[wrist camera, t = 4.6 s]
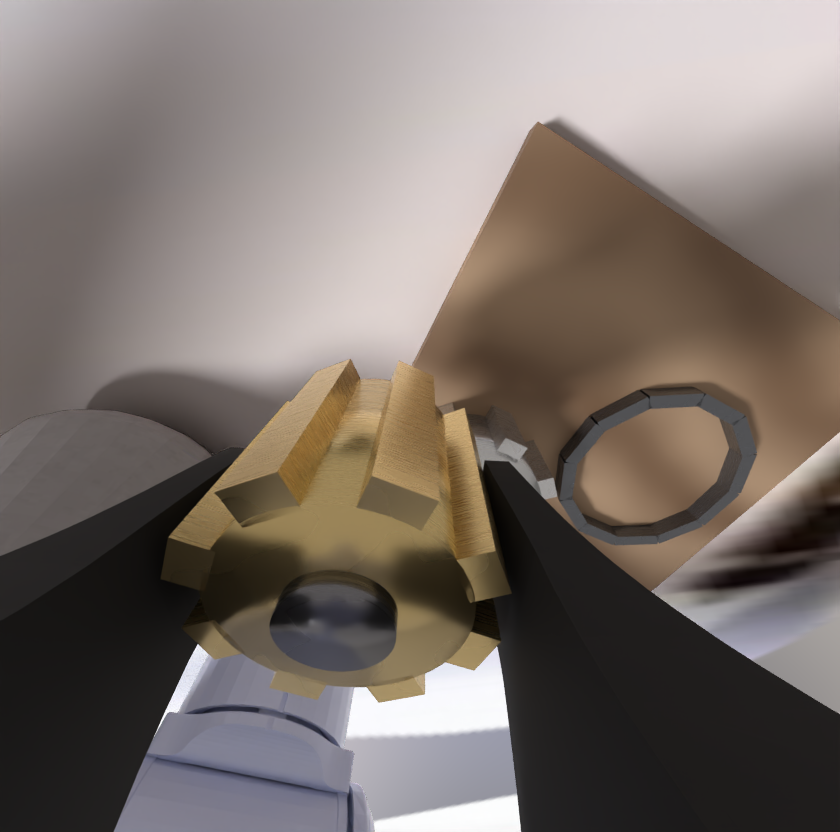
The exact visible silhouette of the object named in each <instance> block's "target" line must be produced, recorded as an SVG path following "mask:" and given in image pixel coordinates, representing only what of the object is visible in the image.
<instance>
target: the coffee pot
mask: <svg viewBox="0 0 840 832" xmlns="http://www.w3.org/2000/svg"><path fill="white" fill-rule="evenodd" d="M211 456H212V455H211V454H210V453H209V452H208V451H207V450H206V449H205V448H204V447H202V446H201V445H200V444H198V443H197V442H195V441H194V440H193V439H191V438H190V437H188V436H186V435H184V434H182V433H180V432H178V431H176V430H174V429H172V428H169V427H166V426H164V425H162V424H160V423H158V422H155V421H153V420H150V419H147V418H143V417H139V416H135V415H131V414H128V413H124V412H120V411H110V410H88V409H85V410H64V411H59V412H55V413H50V414H46V415H41V416H37V417H32V418H28V419H27V420H25V421H23V422H22V423H20V424H19V425H17V426H16V427H14V428H12V429H11V430H9V431H8V432H6V433H5V434H3V435H2V436H1V437H0V556H1V555H4V554H6V553H9V552H11V551H14V550H16V549H19V548H21V547H23V546H26V545H28V544H31V543H33V542H35V541H38V540H40V539H43V538H45V537H48V536H50V535H52V534H54V533H57V532H59V531H61V530H63V529H66V528H68V527H70V526H72V525H75V524H77V523H79V522H81V521H83V520H86V519H88V518H90V517H92V516H94V515H96V514H98V513H100V512H102V511H104V510H106V509H108V508H110V507H112V506H115V505H117V504H119V503H121V502H123V501H125V500H127V499H129V498H131V497H133V496H135V495H137V494H139V493H141V492H143V491H145V490H147V489H149V488H151V487H153V486H155V485H157V484H159V483H161V482H163V481H164V480H166V479H168V478H170V477H172V476H174V475H176V474H178V473H180V472H182V471H184V470H186V469H188V468H190V467H191V466H193V465H195V464H197V463H199V462H201V461H203V460H205V459H207V458H209V457H211Z"/></svg>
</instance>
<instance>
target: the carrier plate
mask: <svg viewBox="0 0 840 832" xmlns="http://www.w3.org/2000/svg"><path fill="white" fill-rule="evenodd" d="M412 367H414V368H417V369H419V370H421V371H423V372H426V373H428V374H430V375H433V376H434V389H435V405H436V406H437V407H439V406H442V405H445V404H449V403H452V402H453V405H454V408H455V411H457V410H460V409H463V408H465V411H466V414H477V415H482V416H486V415H487V413H488V411H489V410H490V408H491V407H492V405H494V406H496V407H498V408H500V409H502V410H504V411H506V412H509V413H511V414H512V416H513V418H514V420H515V422H516V425H517V427H518V429H519V431H520V433H521V435H522V437H523V439H524V441H525V442H528V441H531V440H534V442H535V444H536V446H537V447H538V449H539V451H540V453H541V455H542V457H543V459H544V461H545V463H546V465H547V466H548V468H549V470H550V472H551V474H552V476H553V478H554V483H555V481H556V473H557V465H558V457H559V454H561V453H560V451H561V450H562V448H563V447H564V446H565V445H566V443H567V442H568V441H569V440H570V438H571V437H572V436H573V435H574V433H575V432H576V431H577V430H578V428H579V427H580V426H581V424H582V423H583V422H584V421H585V419H586V418H587V417H588V416H590V417H591V415H590V414H592V413H594V412H596V411H598V410H600V409H601V408H603V407H605V406H607V405H609V404H611V403H613V402H615V401H617V400H619V399H621V398H623V397H625V396H627V395H629V394H631V393H633V392H635V391H636V390H639V391H640V389H652V388H671V387H690V386H692V387H695V388H697V389H699V390H701V391H702V392H704V393H706V394H708V395H710V396H711V397H713V398H715V399H717V400H719V401H721V402H722V403H724V404H726V405H728V406H730V407H731V408H733V409H735V410H737V411H739V412H740V413H742V414H744V415H745V416H746V417H747V420H748V424H749V427H750V430H751V434H752V437H753V440H754V444H755V447H756V450H757V453H756V454H757V456H756V458H755V461H754V463H753V465H752V468H751V470H750V473H749V475H748V477H747V480H746V482H745V485H744V487H743V489H742V492H741V493H738V494H739V496H738V497H737V498H735V499H734V500H733V501H732V502H731V503H730V504H729V505H727V506H726V507H725V508H724V509H723V510H722V511H721V512H719V513H718V514H717V515H716V516H715V517H714V518H713V519H711V520H710V521H709V522H708V523H707V524H706V525H703V524H702V526H703V527H700V528H698V529H695V530H693V531H690V532H688V533H685V534H683V535H680V536H678V537H675V538H672V539H670V540H667V541H665V542H662V543H660V544H659V543H657V544H645V545H614V544H613V545H611V544H609V543H606V542H604V541H602V540H599V539H597V538H594V537H592V536H590V535H587V534H585V533H583V532H580V531H578V530H577V528H576V527H575V525H574V524H573V522H572V520H571V519H570V517H569V516H568V514H567V512H566V511H565V509H564V508H563V506H562V504H561V503H560V501H559V499H558V497H553V498H549V499H545V500H546V501H547V502H548V503H549V504H550V505H551V506H552V507H553V508H554V509H555V510H556V511H557V512H558V513H559V514H560V515H561V516H562V517H563V518H564V519H565V520H566V521H567V522H568V523H569V524H570V525H572V526H573V527H574V528H575V529H576V530H577V531H578V532H579V533H580V534H581V535H582V536H584V537H585V538H586V539H587V540H588V541H589V542H590V543H591V544H593V545H594V546H595V547H596V548H597V549H598V550H599V551H600V552H602V553H603V554H604V555H605V556H606V557H608V558H609V559H610V560H611V561H612V562H614V563H615V564H616V565H617V566H619V567H620V568H621V569H622V570H624V571H625V572H626V573H628V574H629V575H630V576H631V577H633V578H634V579H635V580H637V581H638V582H639V583H640V584H642V585H643V586H644V587H645V588H647V589H648V590H649V591H652V590H653V589H654V588H656V587H657V586H658V585H659V584H660V583H662V582H663V581H664V580H665V579H666V578H667V577H669V576H670V575H671V574H672V573H673V572H675V571H676V570H677V569H678V568H679V567H680V566H682V565H683V564H684V563H685V562H686V561H688V560H689V559H690V558H691V557H692V556H693V555H695V554H696V553H697V552H698V551H699V550H701V549H702V548H703V547H704V546H705V545H707V544H708V543H709V542H710V541H711V540H712V539H714V538H715V537H716V536H717V535H718V534H720V533H721V532H722V531H723V530H724V529H725V528H727V527H728V526H729V525H730V524H731V523H733V522H734V521H735V520H736V519H737V518H738V517H740V516H741V515H742V514H743V513H744V512H746V511H747V510H748V509H749V508H750V507H751V506H753V505H754V504H755V503H756V502H757V501H759V500H760V499H761V498H762V497H763V496H764V495H766V494H767V493H768V492H769V491H770V490H772V489H773V488H774V487H775V486H776V485H778V484H779V483H780V482H781V481H782V480H783V479H785V478H786V477H787V476H788V475H789V474H791V473H792V472H793V471H794V470H795V469H796V468H798V467H799V466H800V465H801V464H802V463H804V462H805V461H806V460H807V459H808V458H809V457H811V456H812V455H813V454H814V453H815V452H817V451H818V450H819V449H820V448H821V447H822V446H824V445H825V444H826V443H827V442H828V441H830V440H831V439H832V438H833V437H834V436H835V435H837V434H838V433H839V432H840V320H838V319H837V318H835V317H834V316H832V315H831V314H829V313H828V312H826V311H825V310H823V309H822V308H820V307H819V306H817V305H816V304H814V303H813V302H811V301H810V300H808V299H807V298H805V297H804V296H802V295H800V294H799V293H797V292H796V291H794V290H793V289H791V288H790V287H788V286H787V285H785V284H784V283H782V282H781V281H779V280H778V279H776V278H775V277H773V276H772V275H770V274H769V273H767V272H766V271H764V270H763V269H761V268H759V267H758V266H756V265H755V264H753V263H752V262H750V261H749V260H747V259H746V258H744V257H743V256H741V255H740V254H738V253H737V252H735V251H734V250H732V249H731V248H729V247H728V246H726V245H725V244H723V243H722V242H720V241H719V240H717V239H715V238H714V237H712V236H711V235H709V234H708V233H706V232H705V231H703V230H702V229H700V228H699V227H697V226H696V225H694V224H693V223H691V222H690V221H688V220H687V219H685V218H684V217H682V216H681V215H679V214H678V213H676V212H675V211H673V210H671V209H670V208H668V207H667V206H665V205H664V204H662V203H661V202H659V201H658V200H656V199H655V198H653V197H652V196H650V195H649V194H647V193H646V192H644V191H643V190H641V189H640V188H638V187H637V186H635V185H634V184H632V183H631V182H629V181H627V180H626V179H624V178H623V177H621V176H620V175H618V174H617V173H615V172H614V171H612V170H611V169H609V168H608V167H606V166H605V165H603V164H602V163H600V162H599V161H597V160H596V159H594V158H593V157H591V156H590V155H588V154H586V153H585V152H583V151H582V150H580V149H579V148H577V147H576V146H574V145H573V144H571V143H570V142H568V141H567V140H565V139H564V138H562V137H561V136H559V135H558V134H556V133H555V132H553V131H552V130H550V129H549V128H547V127H546V126H544V125H542V124H541V123H539V122H537V123H536V124H535V125H534V127H533V128H532V129H531V130H530V132H529V134H528V135H527V137H526V139H525V141H524V143H523V145H522V147H521V149H520V151H519V153H518V155H517V157H516V159H515V161H514V163H513V165H512V167H511V169H510V171H509V173H508V175H507V177H506V179H505V181H504V183H503V185H502V187H501V189H500V191H499V193H498V195H497V197H496V199H495V201H494V203H493V205H492V207H491V209H490V211H489V213H488V215H487V217H486V219H485V221H484V223H483V225H482V227H481V229H480V231H479V233H478V235H477V237H476V239H475V241H474V243H473V245H472V247H471V249H470V251H469V253H468V255H467V257H466V259H465V261H464V263H463V265H462V267H461V269H460V271H459V273H458V275H457V277H456V279H455V281H454V283H453V285H452V287H451V289H450V291H449V293H448V295H447V297H446V299H445V301H444V303H443V305H442V307H441V309H440V311H439V313H438V315H437V317H436V319H435V321H434V323H433V325H432V327H431V329H430V331H429V333H428V335H427V337H426V339H425V341H424V343H423V345H422V346H421V348H420V350H419V352H418V354H417V356H416V358H415V360H414V362H413V364H412ZM728 450H729V446H728V443H727V440H726V437H725V434H724V431H723V428H722V425H721V422H720V419H719V418H718V417H716V416H714V415H712V414H711V413H709V412H707V411H705V410H703V409H701V408H699V407H680V408H660V409H649V410H647V411H645V412H643V413H641V414H639V415H637V416H635V417H633V418H631V419H629V420H627V421H625V422H623V423H621V424H619V425H617V426H615V427H613V428H611V429H609V430H607V431H605V432H604V433H603V434H602V436H601V437H600V438H599V439H598V440H597V442H596V443H595V444H594V445H593V446H592V447H591V449H590V450H589V451H588V452H587V453H586V455H585V456H584V457H583V458H582V459H581V461H580V462H579V463H578V464H577V470H576V476H575V483H574V489H573V496H572V498H573V499H574V501H575V503H576V504H577V506H578V508H579V509H580V511H581V513H583V514H585V515H587V516H590V517H592V518H594V519H597V520H599V521H601V522H604V523H606V524H608V525H611V526H623V525H649V524H652V523H654V522H657V521H659V520H662V519H664V518H666V517H669V516H671V515H674V514H676V513H679V512H681V511H683V510H686V509H688V508H689V507H690V506H691V505H692V504H693V503H694V502H695V501H696V500H697V499H698V498H699V497H701V496H702V495H703V494H704V493H705V492H706V491H707V490H708V489H709V488H710V487H711V486H712V485H714V484H715V483H716V482H717V479H718V476H719V474H720V471H721V468H722V466H723V463H724V460H725V458H726V455H727V452H728Z"/></svg>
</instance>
